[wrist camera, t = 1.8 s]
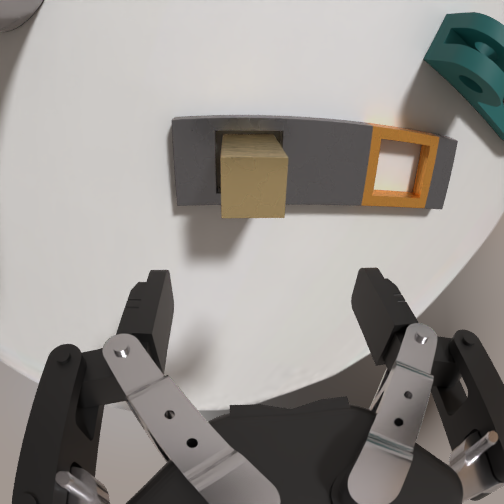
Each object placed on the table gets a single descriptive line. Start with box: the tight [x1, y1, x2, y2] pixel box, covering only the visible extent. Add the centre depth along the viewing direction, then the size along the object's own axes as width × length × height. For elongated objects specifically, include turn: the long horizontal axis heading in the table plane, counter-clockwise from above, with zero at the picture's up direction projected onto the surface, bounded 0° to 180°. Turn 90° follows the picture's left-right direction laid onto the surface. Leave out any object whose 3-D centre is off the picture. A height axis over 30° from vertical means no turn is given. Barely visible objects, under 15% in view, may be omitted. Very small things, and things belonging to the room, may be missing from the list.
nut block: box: [220, 134, 288, 218], centre depth 25 cm, size 4×4×8 cm
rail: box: [172, 115, 458, 209], centre depth 28 cm, size 8×28×2 cm, turn 89°
